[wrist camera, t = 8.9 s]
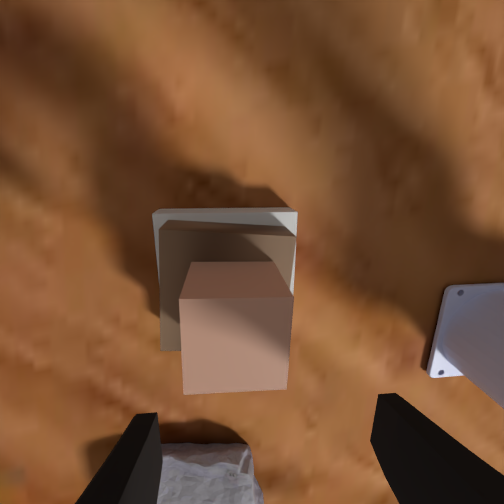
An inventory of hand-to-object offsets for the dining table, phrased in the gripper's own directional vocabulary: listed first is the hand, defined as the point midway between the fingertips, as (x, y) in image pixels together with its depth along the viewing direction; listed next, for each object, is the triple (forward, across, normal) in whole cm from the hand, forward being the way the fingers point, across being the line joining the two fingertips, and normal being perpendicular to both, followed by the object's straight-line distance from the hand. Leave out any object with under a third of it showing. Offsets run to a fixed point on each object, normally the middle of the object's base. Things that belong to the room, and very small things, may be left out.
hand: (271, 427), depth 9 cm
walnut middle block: (+8, +1, -2) cm, 9 cm away
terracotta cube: (+6, +1, -2) cm, 6 cm away
